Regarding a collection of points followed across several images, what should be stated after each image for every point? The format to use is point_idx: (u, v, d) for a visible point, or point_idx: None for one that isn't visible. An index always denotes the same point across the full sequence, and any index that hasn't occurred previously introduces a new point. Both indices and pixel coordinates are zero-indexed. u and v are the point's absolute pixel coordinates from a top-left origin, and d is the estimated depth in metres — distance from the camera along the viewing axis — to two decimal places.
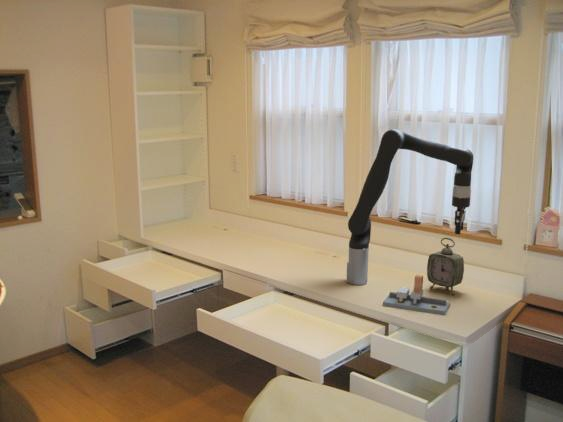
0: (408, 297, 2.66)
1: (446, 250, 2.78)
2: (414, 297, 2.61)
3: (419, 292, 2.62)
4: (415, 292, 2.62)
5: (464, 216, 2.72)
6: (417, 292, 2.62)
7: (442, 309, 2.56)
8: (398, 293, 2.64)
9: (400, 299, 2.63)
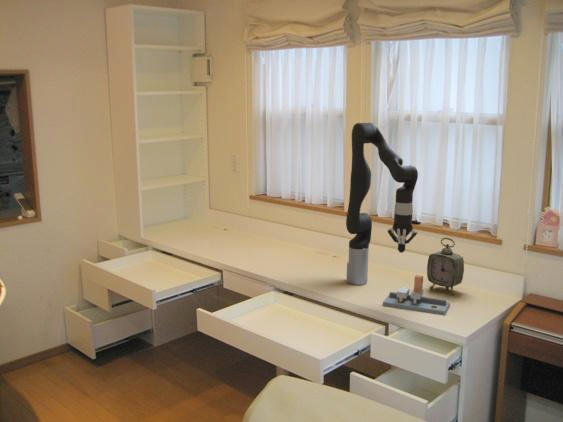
0: (408, 297, 2.66)
1: (446, 250, 2.78)
2: (414, 297, 2.61)
3: (419, 292, 2.62)
4: (415, 292, 2.62)
5: None
6: (417, 292, 2.62)
7: (442, 309, 2.56)
8: (398, 293, 2.64)
9: (400, 299, 2.63)
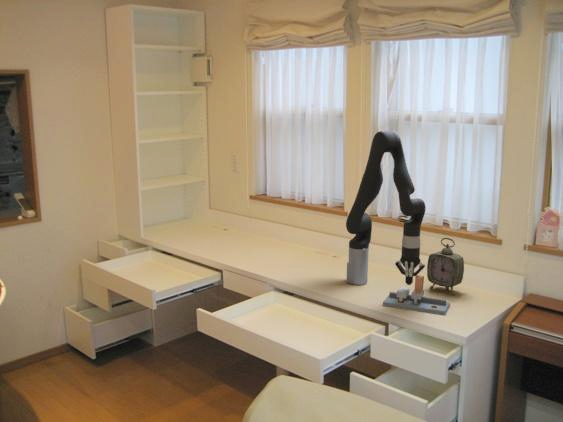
0: (408, 297, 2.66)
1: (446, 250, 2.78)
2: (415, 297, 2.61)
3: (420, 292, 2.62)
4: (416, 292, 2.62)
5: None
6: (418, 292, 2.62)
7: (442, 309, 2.56)
8: (398, 293, 2.64)
9: (400, 299, 2.63)
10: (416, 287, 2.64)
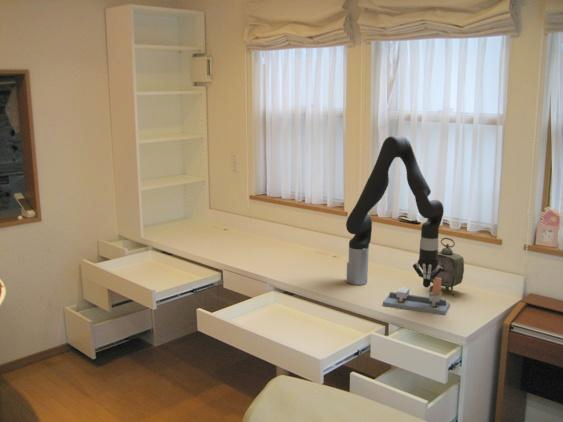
0: (408, 297, 2.66)
1: (446, 250, 2.78)
2: (433, 300, 2.58)
3: (438, 295, 2.59)
4: (434, 295, 2.59)
5: None
6: (436, 295, 2.59)
7: (442, 309, 2.56)
8: (398, 293, 2.64)
9: (400, 299, 2.63)
10: (434, 289, 2.61)
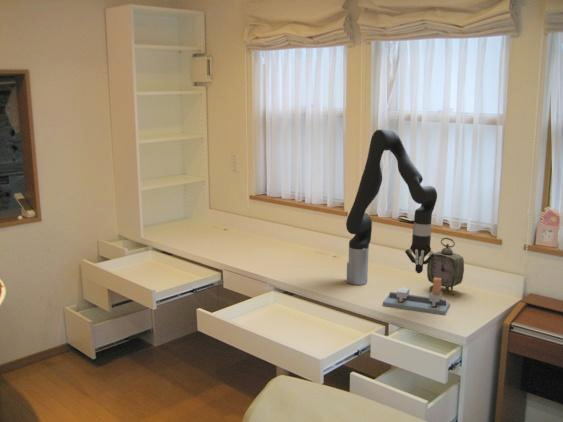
0: (408, 297, 2.66)
1: (446, 250, 2.78)
2: (433, 300, 2.58)
3: (438, 295, 2.59)
4: (434, 295, 2.59)
5: None
6: (436, 295, 2.59)
7: (442, 309, 2.56)
8: (398, 293, 2.64)
9: (400, 299, 2.63)
10: (434, 289, 2.61)
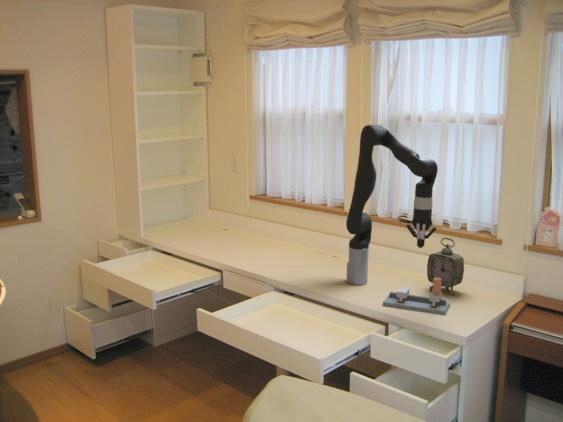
0: (408, 297, 2.66)
1: (446, 250, 2.78)
2: (433, 300, 2.58)
3: (438, 295, 2.59)
4: (434, 295, 2.59)
5: None
6: (436, 295, 2.59)
7: (442, 309, 2.56)
8: (398, 293, 2.64)
9: (400, 299, 2.63)
10: (434, 289, 2.61)
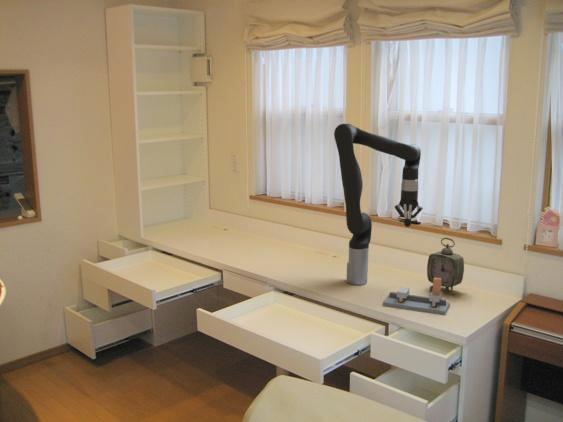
0: (408, 297, 2.66)
1: (446, 250, 2.78)
2: (433, 300, 2.58)
3: (438, 295, 2.59)
4: (434, 295, 2.59)
5: None
6: (436, 295, 2.59)
7: (442, 309, 2.56)
8: (398, 293, 2.64)
9: (400, 299, 2.63)
10: (434, 289, 2.61)
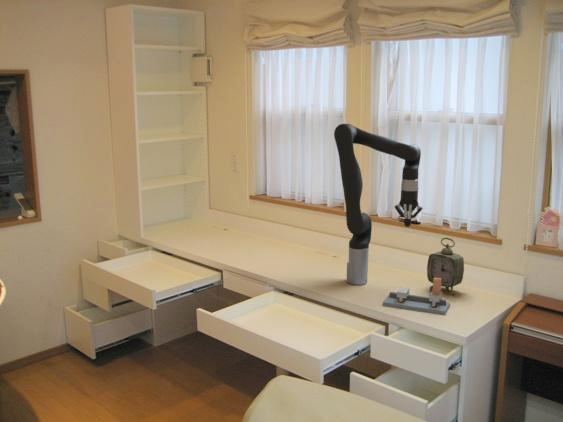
0: (408, 297, 2.66)
1: (446, 250, 2.78)
2: (433, 300, 2.58)
3: (438, 295, 2.59)
4: (434, 295, 2.59)
5: None
6: (436, 295, 2.59)
7: (442, 309, 2.56)
8: (398, 293, 2.64)
9: (400, 299, 2.63)
10: (434, 289, 2.61)
